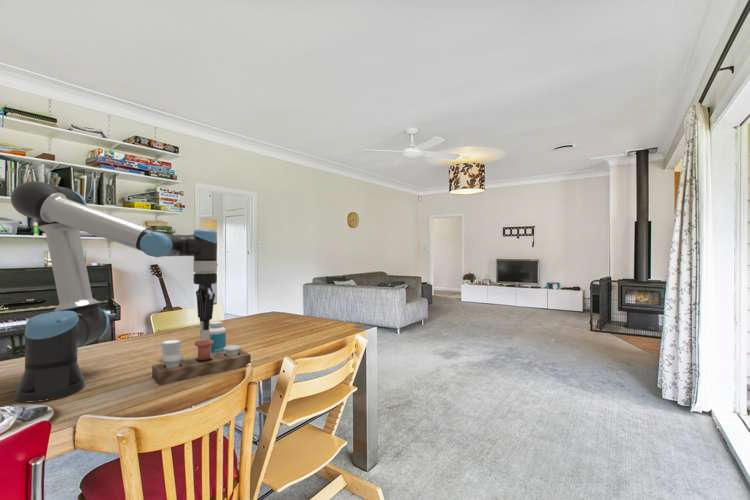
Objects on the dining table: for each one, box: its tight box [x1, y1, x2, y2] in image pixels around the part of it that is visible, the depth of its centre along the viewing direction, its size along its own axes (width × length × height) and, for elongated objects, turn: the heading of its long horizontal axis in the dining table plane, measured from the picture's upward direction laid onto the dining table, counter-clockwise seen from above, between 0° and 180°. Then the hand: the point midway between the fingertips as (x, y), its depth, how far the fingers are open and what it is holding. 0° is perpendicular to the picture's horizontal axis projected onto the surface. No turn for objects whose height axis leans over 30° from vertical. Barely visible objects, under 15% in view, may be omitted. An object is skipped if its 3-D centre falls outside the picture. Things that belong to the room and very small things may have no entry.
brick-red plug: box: [194, 339, 213, 360], centre depth 126 cm, size 6×6×6 cm
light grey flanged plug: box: [160, 339, 182, 359], centre depth 139 cm, size 7×7×7 cm
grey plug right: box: [224, 344, 242, 357], centre depth 133 cm, size 6×6×6 cm
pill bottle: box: [205, 321, 227, 355], centre depth 145 cm, size 8×7×14 cm
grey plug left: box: [162, 354, 184, 369], centre depth 119 cm, size 6×6×6 cm
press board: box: [151, 349, 252, 386], centre depth 126 cm, size 30×10×4 cm, turn 133°
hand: (204, 338), depth 126 cm, fingers closed
